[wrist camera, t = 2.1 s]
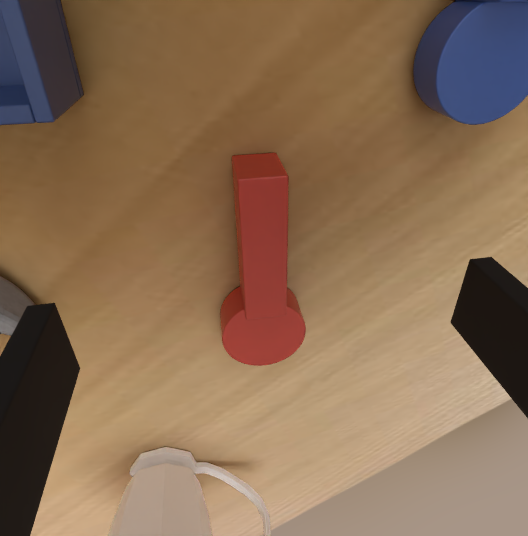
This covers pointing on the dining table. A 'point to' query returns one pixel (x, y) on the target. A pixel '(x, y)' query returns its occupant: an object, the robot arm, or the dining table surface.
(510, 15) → the blue spoon
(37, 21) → the blue bin
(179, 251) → the dining table surface
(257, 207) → the red spoon
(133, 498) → the cup
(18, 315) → the knife
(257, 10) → the dining table surface
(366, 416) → the dining table surface
